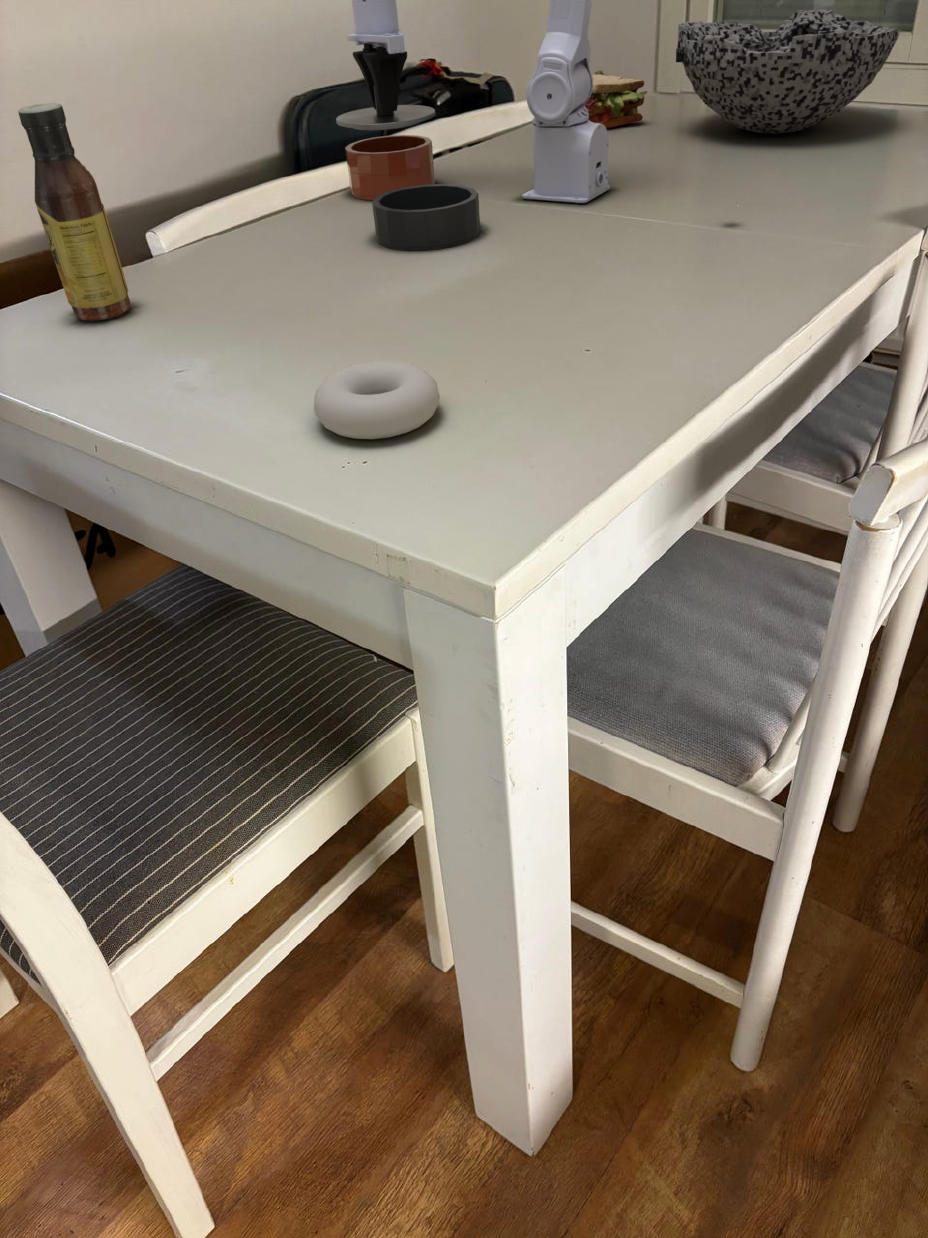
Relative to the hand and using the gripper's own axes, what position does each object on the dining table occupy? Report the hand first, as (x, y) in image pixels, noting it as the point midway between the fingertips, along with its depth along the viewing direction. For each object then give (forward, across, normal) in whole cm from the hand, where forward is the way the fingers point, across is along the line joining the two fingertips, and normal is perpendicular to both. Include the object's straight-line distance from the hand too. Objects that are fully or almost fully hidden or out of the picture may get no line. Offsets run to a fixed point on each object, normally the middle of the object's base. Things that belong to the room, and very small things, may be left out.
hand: (385, 109), depth 130 cm
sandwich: (+6, -20, +44) cm, 48 cm away
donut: (+10, +70, -27) cm, 76 cm away
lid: (+1, 0, 0) cm, 1 cm away
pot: (+10, -1, 0) cm, 10 cm away
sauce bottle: (+11, +30, -44) cm, 54 cm away
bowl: (+10, +4, +63) cm, 64 cm away
